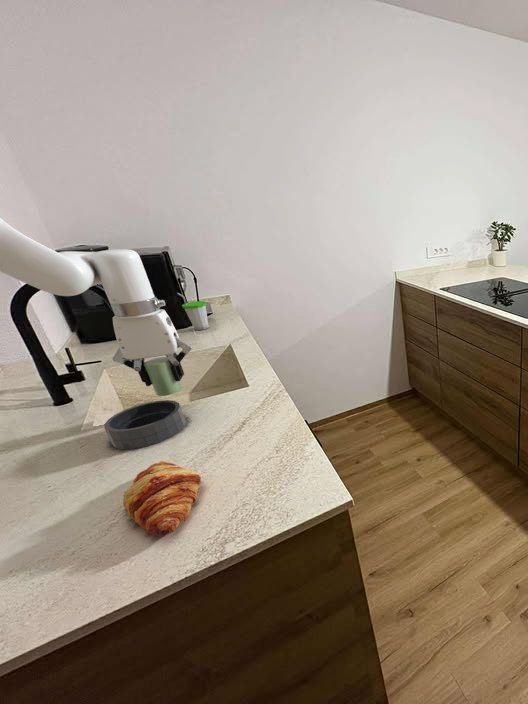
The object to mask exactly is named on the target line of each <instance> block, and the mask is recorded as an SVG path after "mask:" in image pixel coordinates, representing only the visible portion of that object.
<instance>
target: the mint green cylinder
mask: <svg viewBox="0 0 528 704" xmlns="http://www.w3.org/2000/svg"><path fill="white" fill-rule="evenodd" d="M171 366H172V363H171V362H170V361H169V359H168V358H167V357H166V356H158V357H154V358H152V359H149V360H146V361H145V363H144V367H145V369H146V371H147V374H148V376H149V379H150V381H151V383H152V384H151V386H152V388H153V390H154V393H155V396H158V397H165V396H170V395H174V394H175V393H178V392H180V391H181V390H182V389H183V387H182V385H181V382H180V381H176V380H175V377H174V374H173V372H172V369H171Z"/></svg>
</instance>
